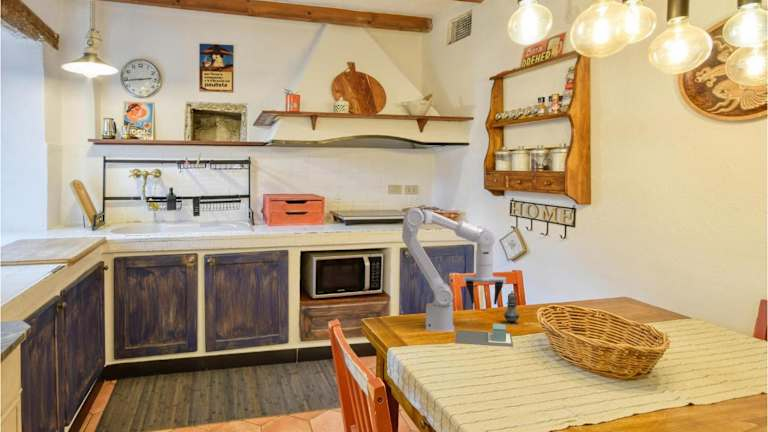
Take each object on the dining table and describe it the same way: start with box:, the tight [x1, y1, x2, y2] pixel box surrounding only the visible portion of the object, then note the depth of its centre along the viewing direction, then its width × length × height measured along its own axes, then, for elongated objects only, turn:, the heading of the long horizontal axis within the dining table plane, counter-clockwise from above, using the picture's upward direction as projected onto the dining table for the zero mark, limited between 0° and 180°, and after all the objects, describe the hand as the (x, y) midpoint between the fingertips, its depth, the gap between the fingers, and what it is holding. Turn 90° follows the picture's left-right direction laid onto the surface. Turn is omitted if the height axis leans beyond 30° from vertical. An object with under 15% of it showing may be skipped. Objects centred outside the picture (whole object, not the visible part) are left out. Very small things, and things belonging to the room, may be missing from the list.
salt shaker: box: [502, 290, 521, 326], centre depth 179 cm, size 6×6×12 cm
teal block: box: [492, 323, 507, 342], centre depth 161 cm, size 8×4×4 cm, turn 168°
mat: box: [454, 329, 514, 348], centre depth 161 cm, size 18×14×1 cm
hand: (483, 303), depth 171 cm, fingers open, 7 cm apart
